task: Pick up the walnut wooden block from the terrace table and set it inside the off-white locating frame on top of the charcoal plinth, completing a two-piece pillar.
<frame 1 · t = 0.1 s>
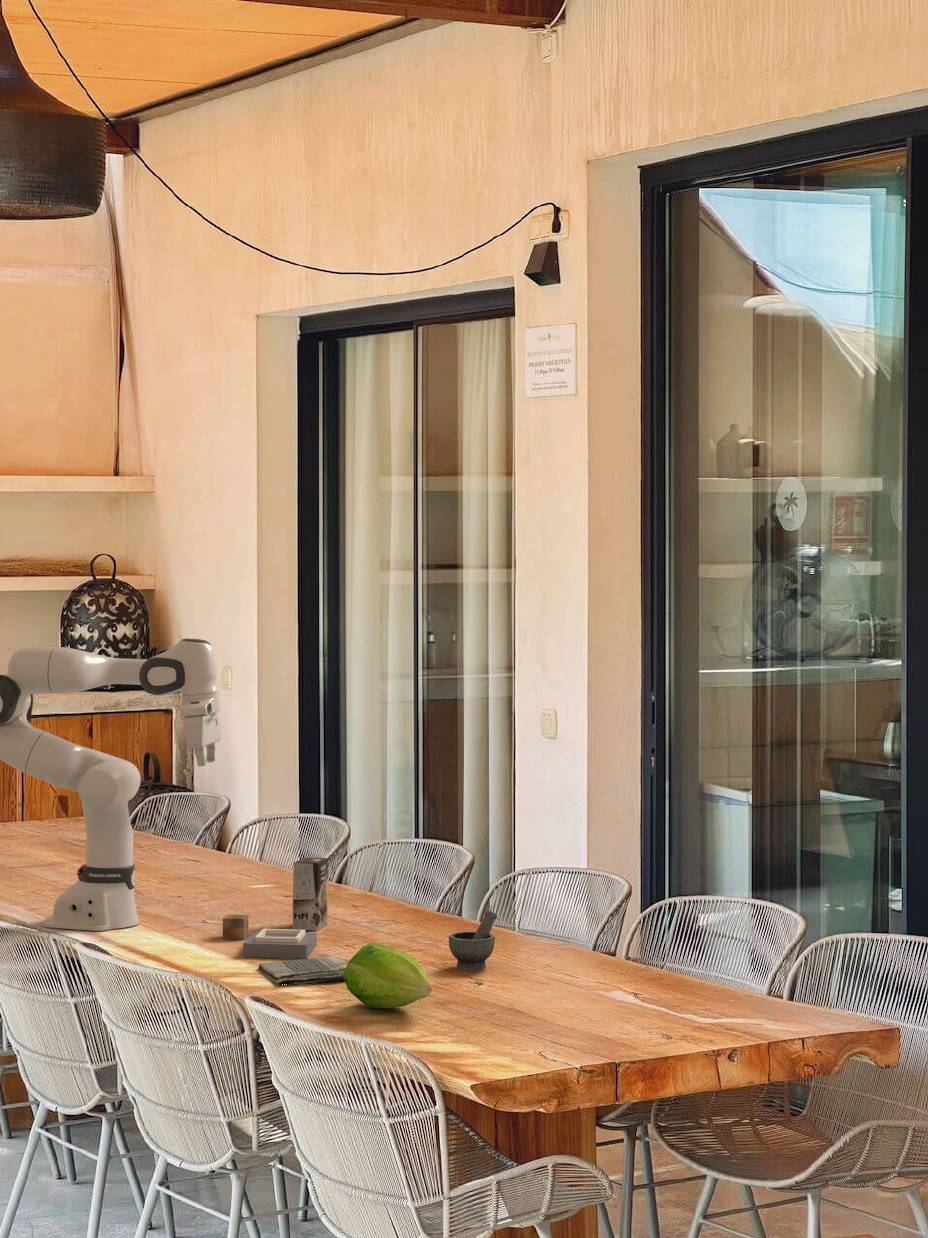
hand: (206, 764, 428), 39 cm above the table, tool pointing down, fingers open, 8 cm apart
mortar and pestle: (473, 968, 387), on the table
dish towel: (308, 978, 378), on the table
walnut block: (235, 938, 416), on the table
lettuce: (391, 1011, 347), on the table
plinth: (280, 951, 401), on the table
coffee box: (310, 928, 430), on the table
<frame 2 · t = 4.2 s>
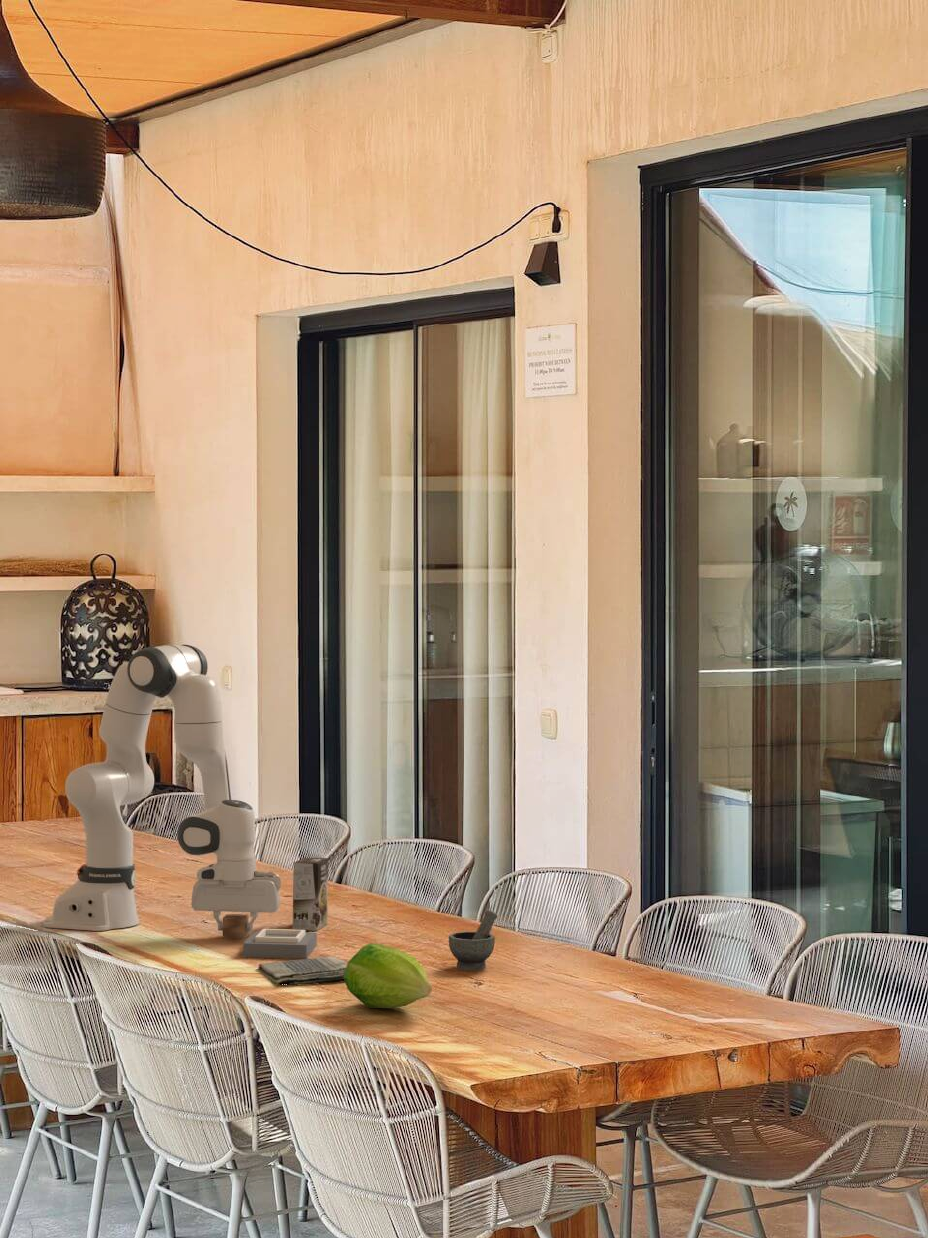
hand: (235, 930, 416), 2 cm above the table, tool pointing down, fingers closed on walnut block, 5 cm apart
walnut block: (235, 937, 416), on the table, touching gripper
everything else where it was.
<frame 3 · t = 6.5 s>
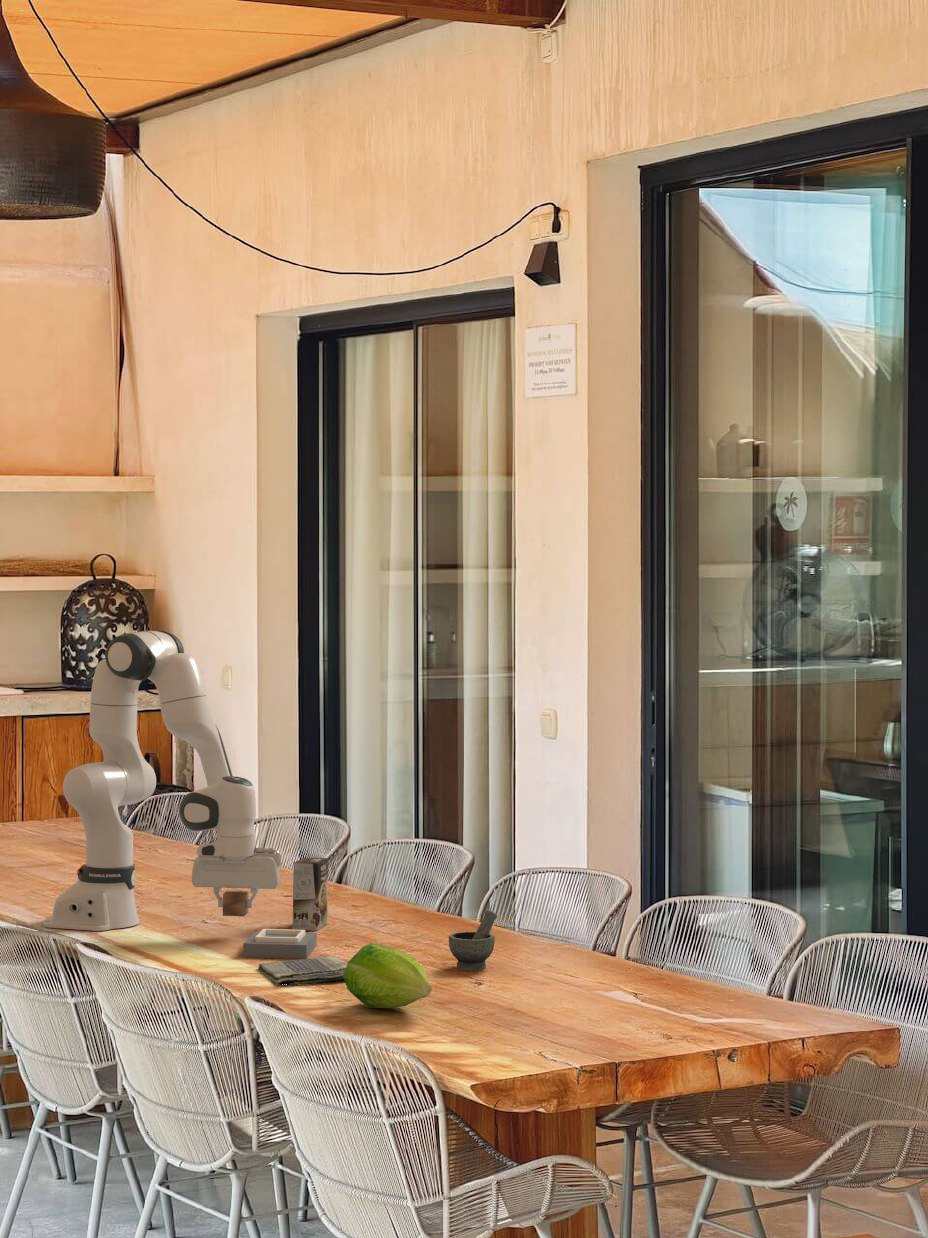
hand: (235, 907, 416), 7 cm above the table, tool pointing down, fingers closed on walnut block, 5 cm apart
walnut block: (235, 914, 416), point 5 cm above the table, touching gripper
everything else where it was.
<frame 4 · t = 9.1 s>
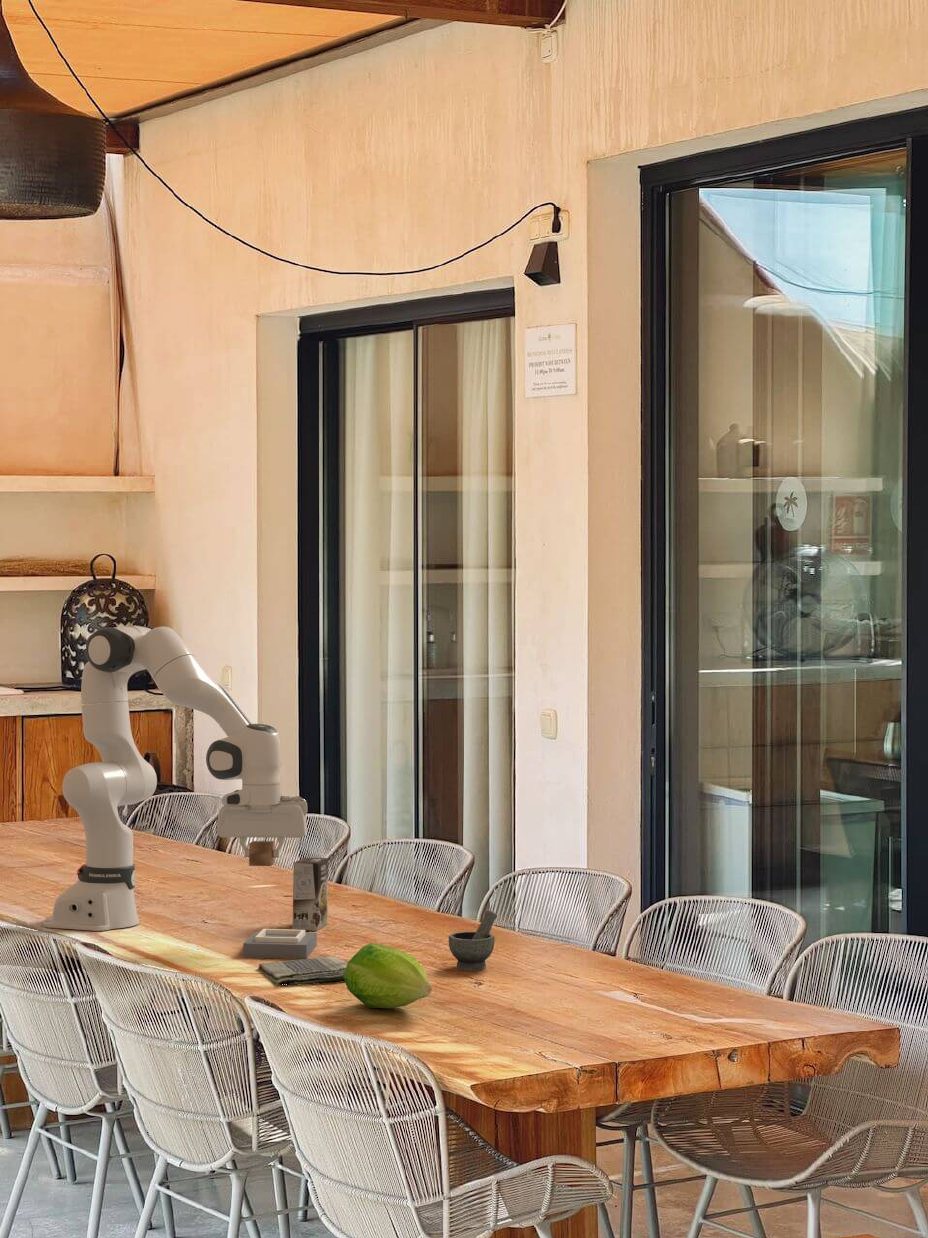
hand: (262, 857, 408), 20 cm above the table, tool pointing down, fingers closed on walnut block, 5 cm apart
walnut block: (262, 864, 408), point 18 cm above the table, touching gripper
everything else where it was.
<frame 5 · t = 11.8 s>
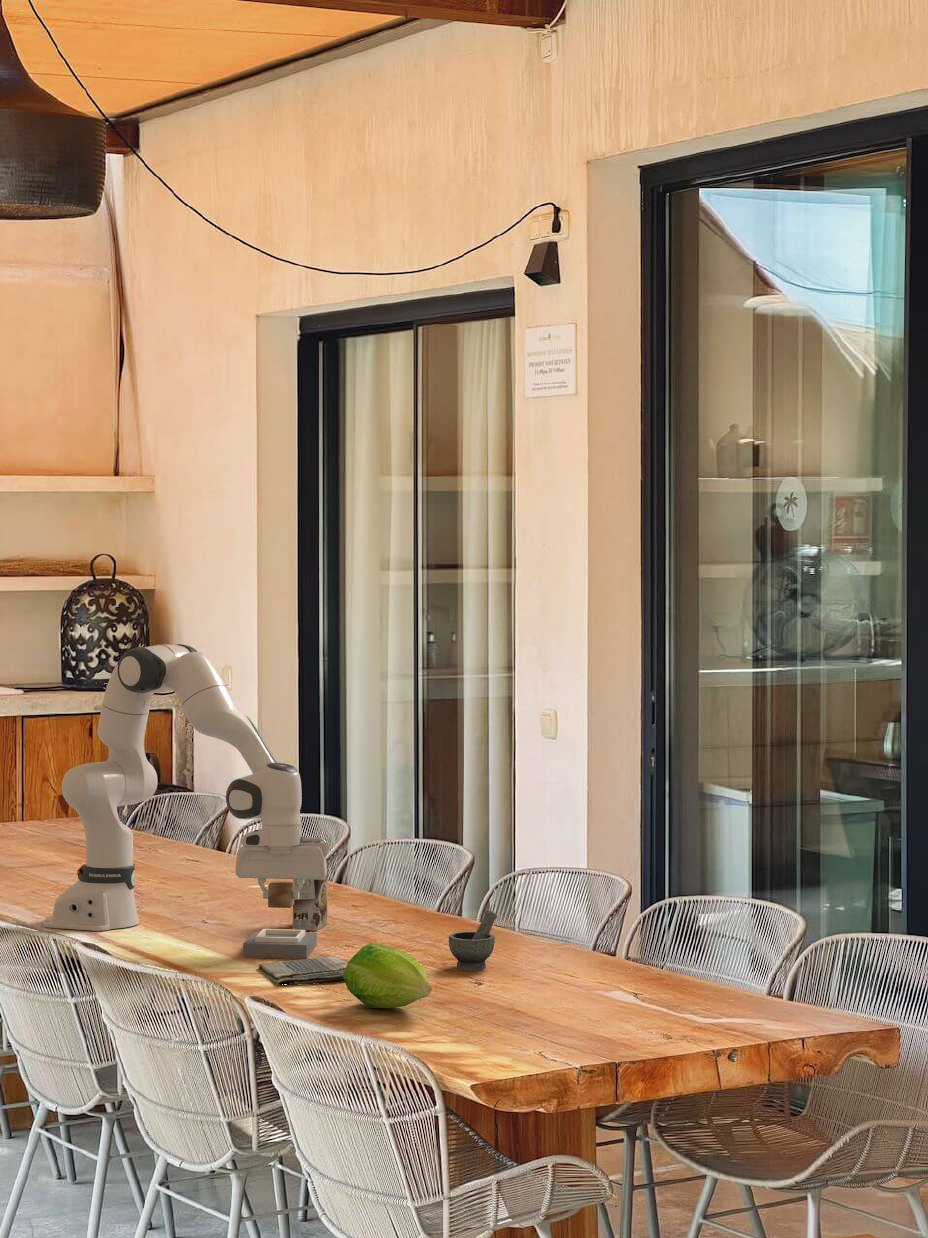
hand: (281, 898, 401), 12 cm above the table, tool pointing down, fingers closed on walnut block, 5 cm apart
walnut block: (281, 905, 401), point 10 cm above the table, touching gripper
everything else where it was.
when the fingers open (6 cm above the table, at t = 14.0 s): walnut block drops 1 cm, resting on plinth.
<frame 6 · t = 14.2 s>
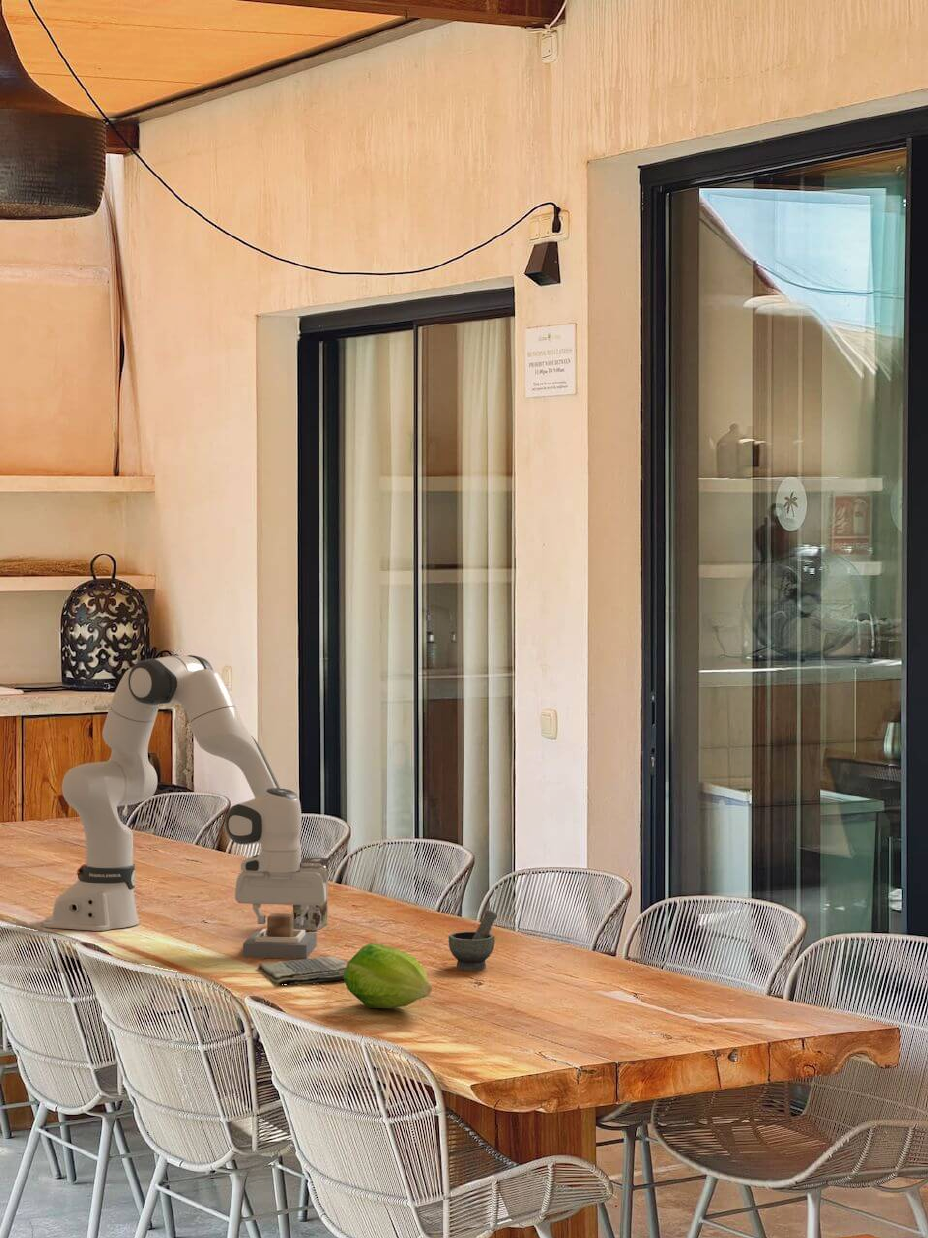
hand: (280, 924, 401), 6 cm above the table, tool pointing down, fingers open, 7 cm apart
walnut block: (280, 938, 401), point 3 cm above the table, touching plinth
everything else where it was.
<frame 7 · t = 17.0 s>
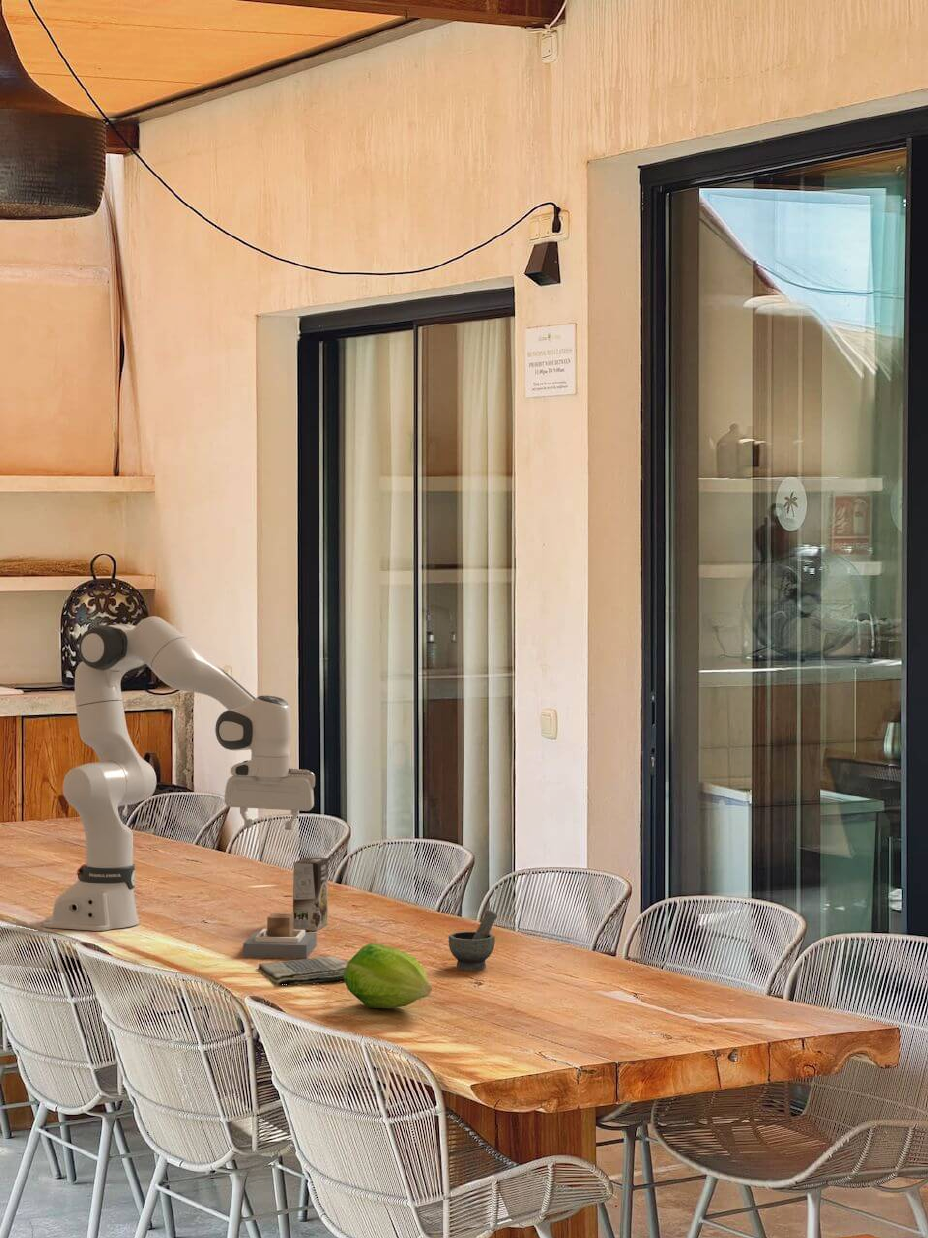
hand: (268, 828, 410), 26 cm above the table, tool pointing down, fingers open, 8 cm apart
nothing on the table moved.
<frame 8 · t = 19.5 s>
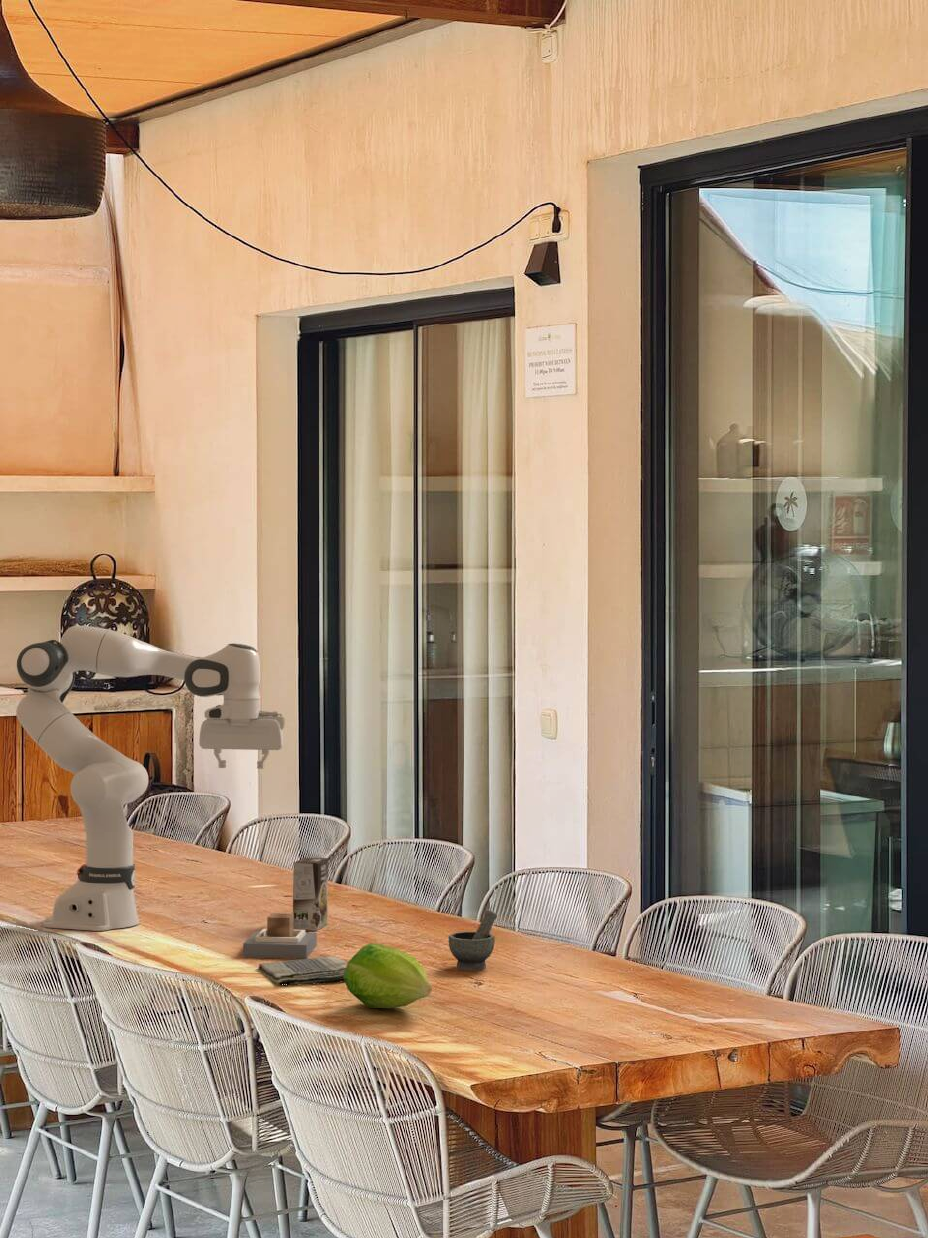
hand: (241, 768, 436), 37 cm above the table, tool pointing down, fingers open, 8 cm apart
nothing on the table moved.
at the end: walnut block 0.1 cm off-centre on the plinth, point 3.0 cm above the plinth's base; walnut block tilted 0°; the gripper is holding nothing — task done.
